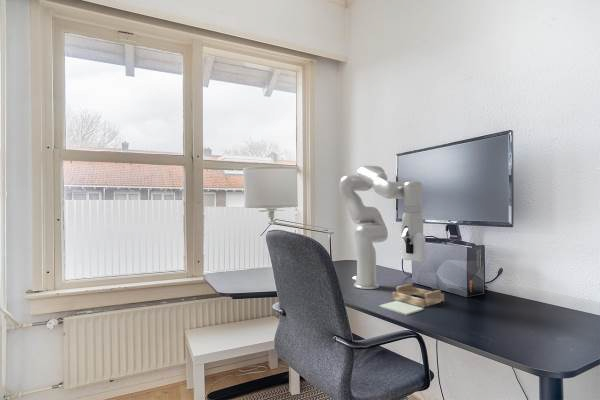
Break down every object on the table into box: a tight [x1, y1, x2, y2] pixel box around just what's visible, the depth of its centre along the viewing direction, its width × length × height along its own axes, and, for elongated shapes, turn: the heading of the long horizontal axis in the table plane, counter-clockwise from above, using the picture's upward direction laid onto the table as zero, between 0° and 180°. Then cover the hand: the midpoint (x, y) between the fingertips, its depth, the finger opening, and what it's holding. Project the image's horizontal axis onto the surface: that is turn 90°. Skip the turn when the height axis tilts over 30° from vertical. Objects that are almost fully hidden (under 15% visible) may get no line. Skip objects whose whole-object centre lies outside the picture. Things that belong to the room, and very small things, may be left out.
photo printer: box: [401, 232, 426, 263], centre depth 143 cm, size 10×4×12 cm, turn 41°
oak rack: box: [392, 283, 445, 309], centre depth 147 cm, size 15×15×5 cm
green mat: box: [378, 300, 424, 316], centre depth 135 cm, size 13×11×1 cm
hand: (413, 252), depth 143 cm, fingers closed on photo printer, 4 cm apart
